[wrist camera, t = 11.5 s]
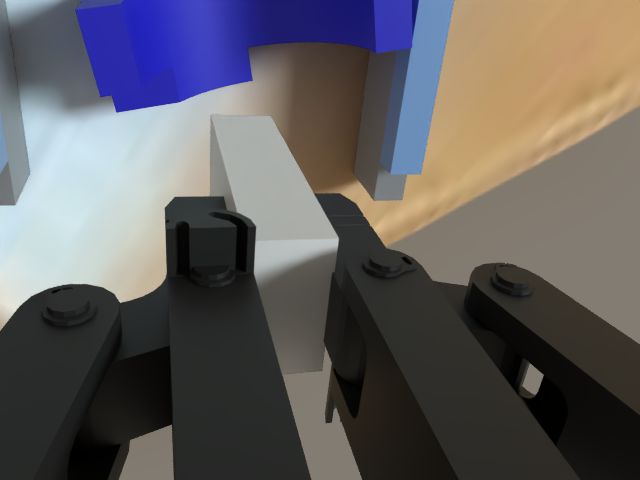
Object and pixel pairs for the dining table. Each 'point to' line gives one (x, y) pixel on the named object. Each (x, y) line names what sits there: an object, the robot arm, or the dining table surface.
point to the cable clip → (218, 40)
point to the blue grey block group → (376, 118)
